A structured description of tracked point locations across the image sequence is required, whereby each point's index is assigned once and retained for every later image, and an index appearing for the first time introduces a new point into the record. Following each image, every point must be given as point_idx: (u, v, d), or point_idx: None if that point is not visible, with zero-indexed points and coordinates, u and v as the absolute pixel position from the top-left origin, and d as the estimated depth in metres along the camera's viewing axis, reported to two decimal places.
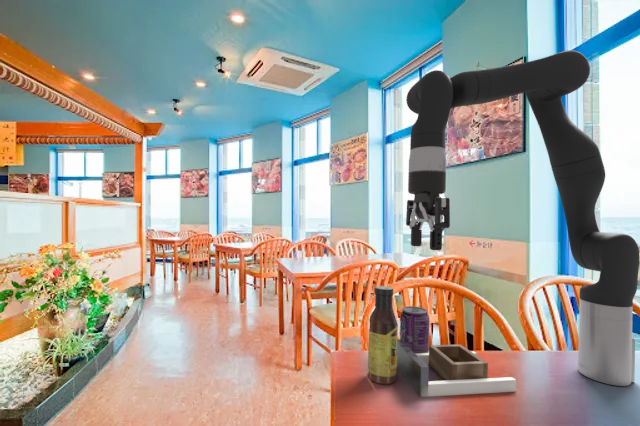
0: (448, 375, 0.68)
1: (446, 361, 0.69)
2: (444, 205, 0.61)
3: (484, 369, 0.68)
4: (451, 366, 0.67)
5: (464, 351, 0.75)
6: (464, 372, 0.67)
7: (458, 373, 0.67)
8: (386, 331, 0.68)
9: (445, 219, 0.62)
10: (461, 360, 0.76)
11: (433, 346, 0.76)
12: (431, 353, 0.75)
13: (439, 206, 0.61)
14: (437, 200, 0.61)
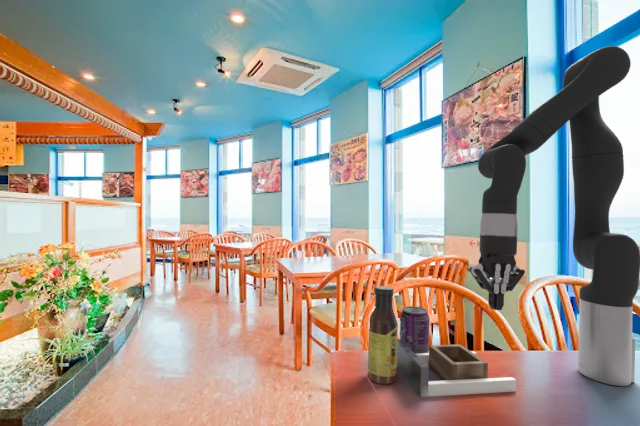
0: (448, 375, 0.68)
1: (446, 361, 0.69)
2: None
3: (484, 369, 0.68)
4: (451, 366, 0.67)
5: (464, 351, 0.75)
6: (464, 372, 0.67)
7: (458, 373, 0.67)
8: (386, 331, 0.68)
9: None
10: (461, 360, 0.76)
11: (433, 346, 0.76)
12: (431, 353, 0.75)
13: None
14: (523, 273, 0.74)
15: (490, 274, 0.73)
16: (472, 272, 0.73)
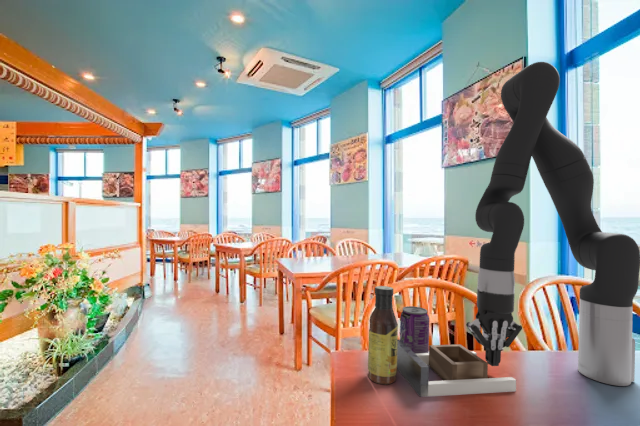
0: (448, 375, 0.68)
1: (446, 361, 0.69)
2: None
3: (484, 369, 0.68)
4: (451, 366, 0.67)
5: (464, 351, 0.75)
6: (464, 372, 0.67)
7: (458, 373, 0.67)
8: (386, 331, 0.68)
9: None
10: (461, 360, 0.76)
11: (433, 346, 0.76)
12: (431, 353, 0.75)
13: None
14: (520, 329, 0.74)
15: (487, 330, 0.73)
16: (469, 328, 0.73)
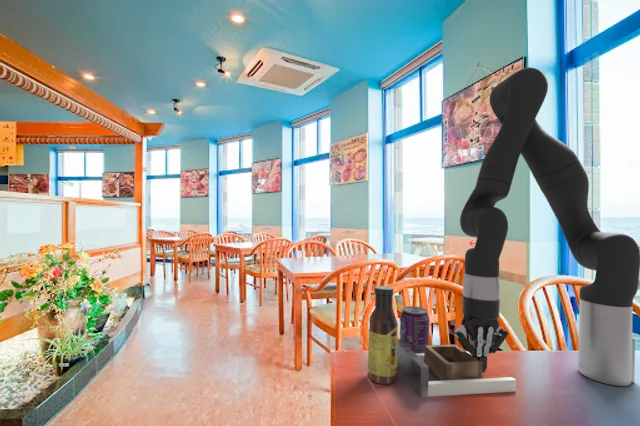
0: (443, 376, 0.68)
1: (441, 362, 0.69)
2: None
3: (479, 369, 0.68)
4: (446, 366, 0.67)
5: (459, 351, 0.74)
6: (459, 372, 0.67)
7: (452, 373, 0.67)
8: (386, 331, 0.68)
9: None
10: (456, 360, 0.75)
11: (428, 346, 0.76)
12: (427, 353, 0.75)
13: None
14: (506, 335, 0.73)
15: (473, 337, 0.72)
16: (455, 334, 0.73)
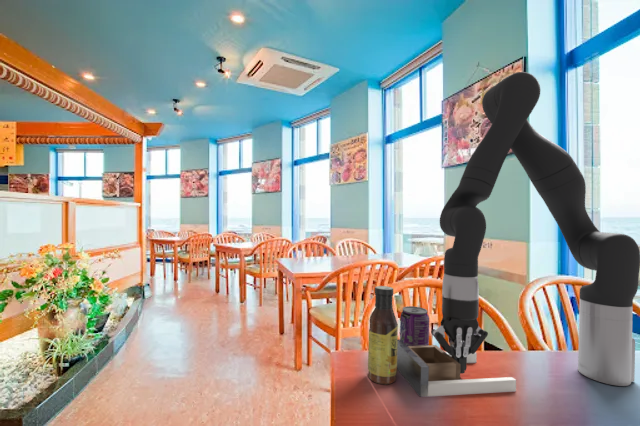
0: None
1: None
2: None
3: (457, 370, 0.67)
4: None
5: (439, 352, 0.74)
6: (436, 373, 0.66)
7: (429, 374, 0.66)
8: (386, 331, 0.68)
9: (470, 343, 0.74)
10: (436, 361, 0.75)
11: None
12: None
13: None
14: (486, 335, 0.72)
15: (452, 337, 0.71)
16: (434, 335, 0.72)
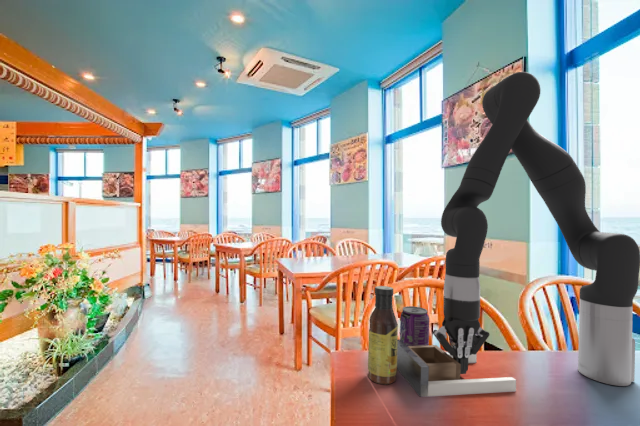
0: None
1: None
2: None
3: (457, 370, 0.67)
4: None
5: (439, 352, 0.74)
6: (436, 373, 0.66)
7: (429, 374, 0.66)
8: (386, 331, 0.68)
9: (471, 344, 0.74)
10: (436, 361, 0.75)
11: None
12: None
13: None
14: (487, 336, 0.72)
15: (453, 338, 0.71)
16: (435, 335, 0.72)
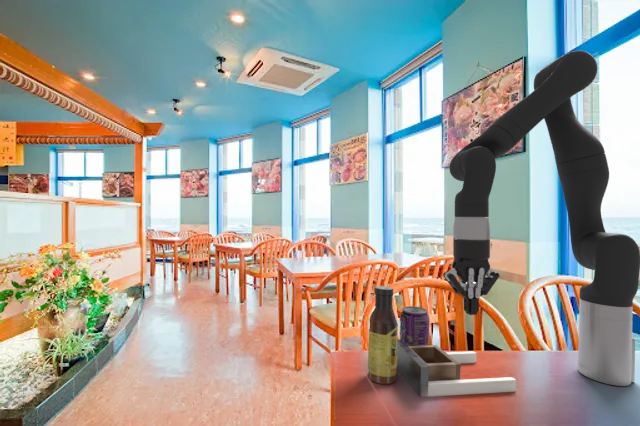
0: None
1: None
2: None
3: (457, 370, 0.67)
4: None
5: (439, 352, 0.74)
6: (436, 373, 0.66)
7: (429, 374, 0.66)
8: (386, 331, 0.68)
9: (481, 286, 0.74)
10: (436, 361, 0.75)
11: None
12: None
13: None
14: (497, 277, 0.73)
15: (464, 279, 0.72)
16: (446, 277, 0.72)
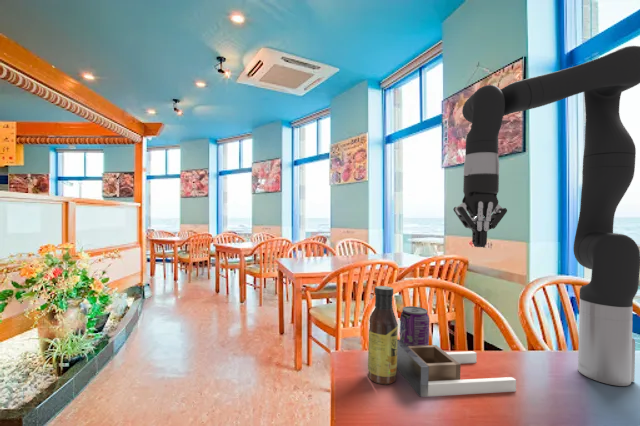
0: None
1: None
2: None
3: (457, 370, 0.67)
4: None
5: (439, 352, 0.74)
6: (436, 373, 0.66)
7: (429, 374, 0.66)
8: (386, 331, 0.68)
9: (489, 222, 0.78)
10: (436, 361, 0.75)
11: None
12: None
13: None
14: (505, 212, 0.76)
15: (473, 212, 0.75)
16: (456, 211, 0.76)
